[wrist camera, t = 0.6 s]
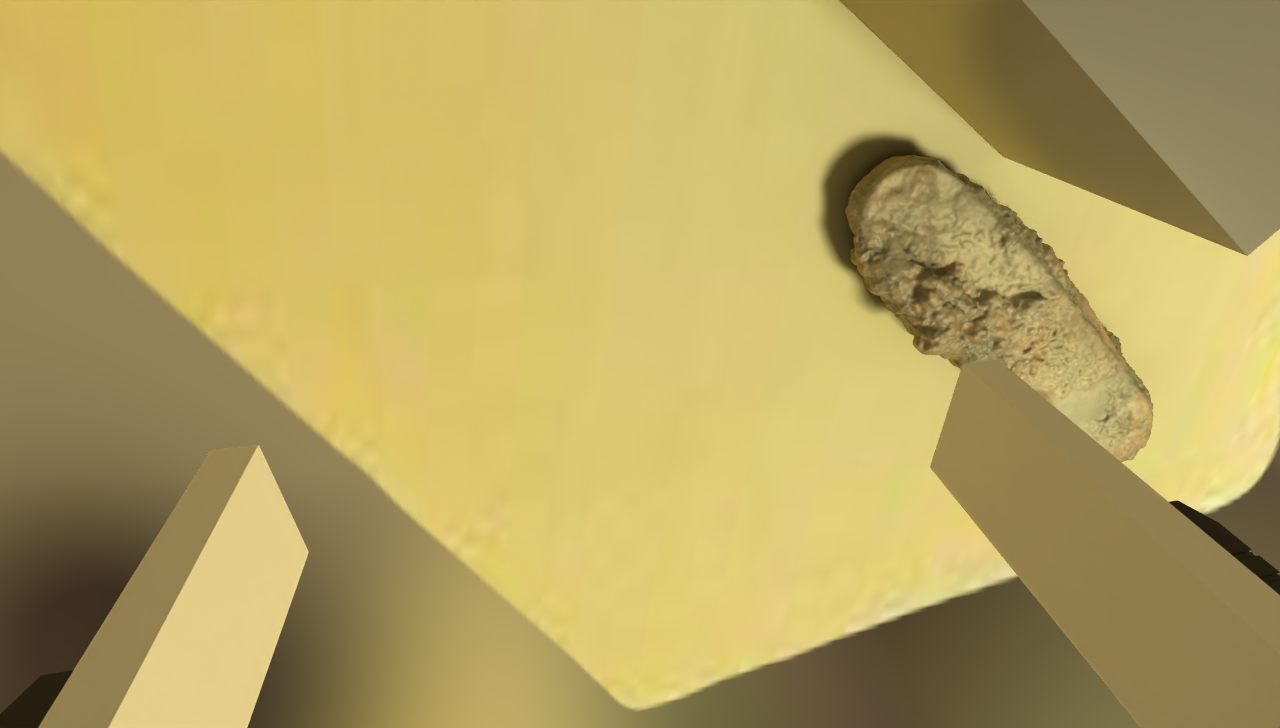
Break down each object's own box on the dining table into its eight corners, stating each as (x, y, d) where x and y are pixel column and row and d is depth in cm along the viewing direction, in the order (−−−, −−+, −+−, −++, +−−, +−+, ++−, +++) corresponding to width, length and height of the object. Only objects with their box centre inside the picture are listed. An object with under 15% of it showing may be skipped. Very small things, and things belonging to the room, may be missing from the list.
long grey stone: (1047, 465, 55) (1147, 386, 52) (1095, 507, 50) (1206, 423, 47) (792, 238, 39) (914, 105, 36) (829, 271, 35) (971, 122, 32)
